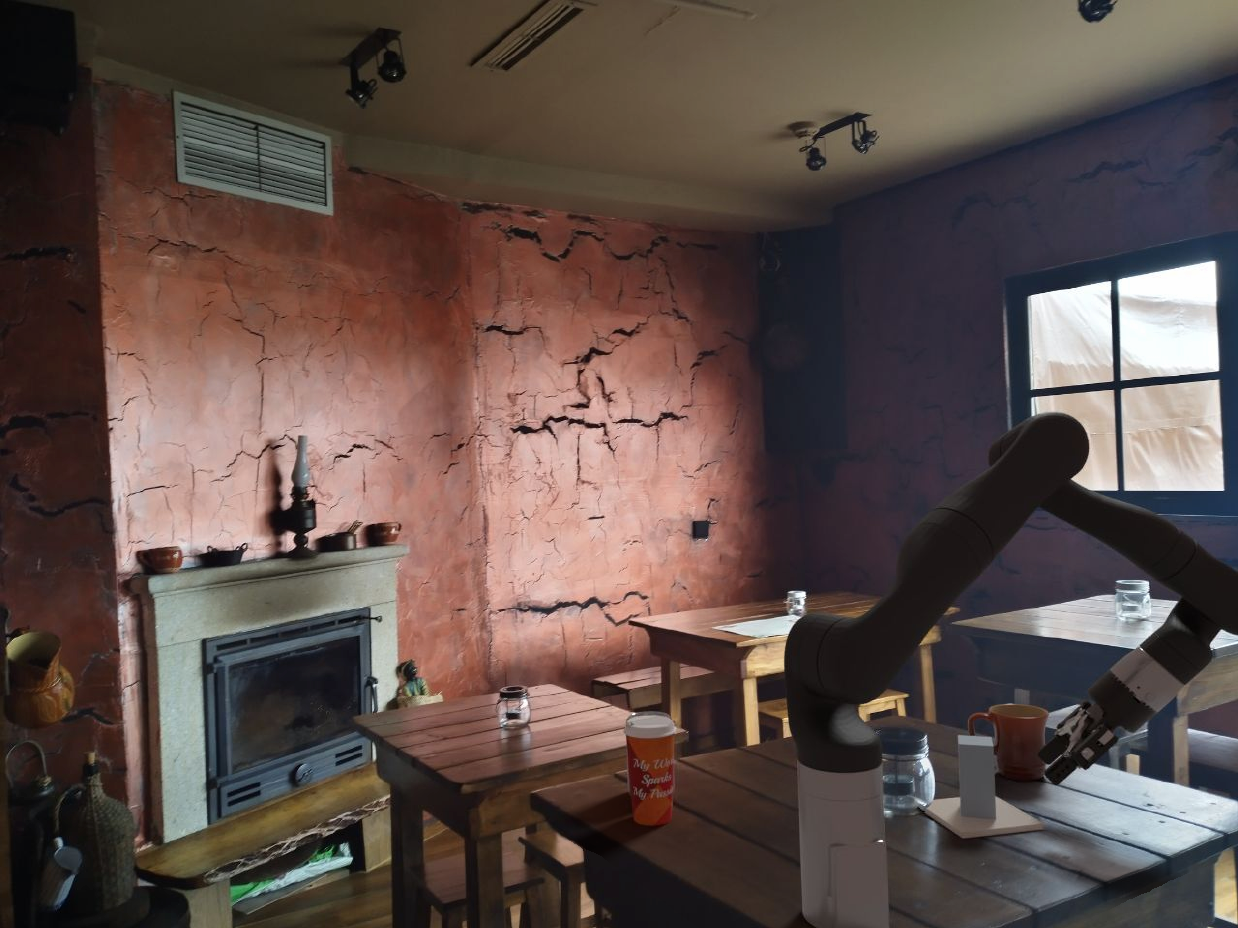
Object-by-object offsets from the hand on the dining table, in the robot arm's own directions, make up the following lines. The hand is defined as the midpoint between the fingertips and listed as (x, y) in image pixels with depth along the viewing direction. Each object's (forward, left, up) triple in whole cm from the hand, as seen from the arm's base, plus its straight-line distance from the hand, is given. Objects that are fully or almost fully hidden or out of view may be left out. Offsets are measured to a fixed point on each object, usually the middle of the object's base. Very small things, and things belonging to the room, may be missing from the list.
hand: (1045, 769), depth 127 cm
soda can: (+26, +50, -8) cm, 57 cm away
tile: (+4, +8, -7) cm, 12 cm away
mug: (+19, -7, -8) cm, 22 cm away
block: (+4, +8, -6) cm, 11 cm away
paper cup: (+16, +52, -8) cm, 55 cm away
